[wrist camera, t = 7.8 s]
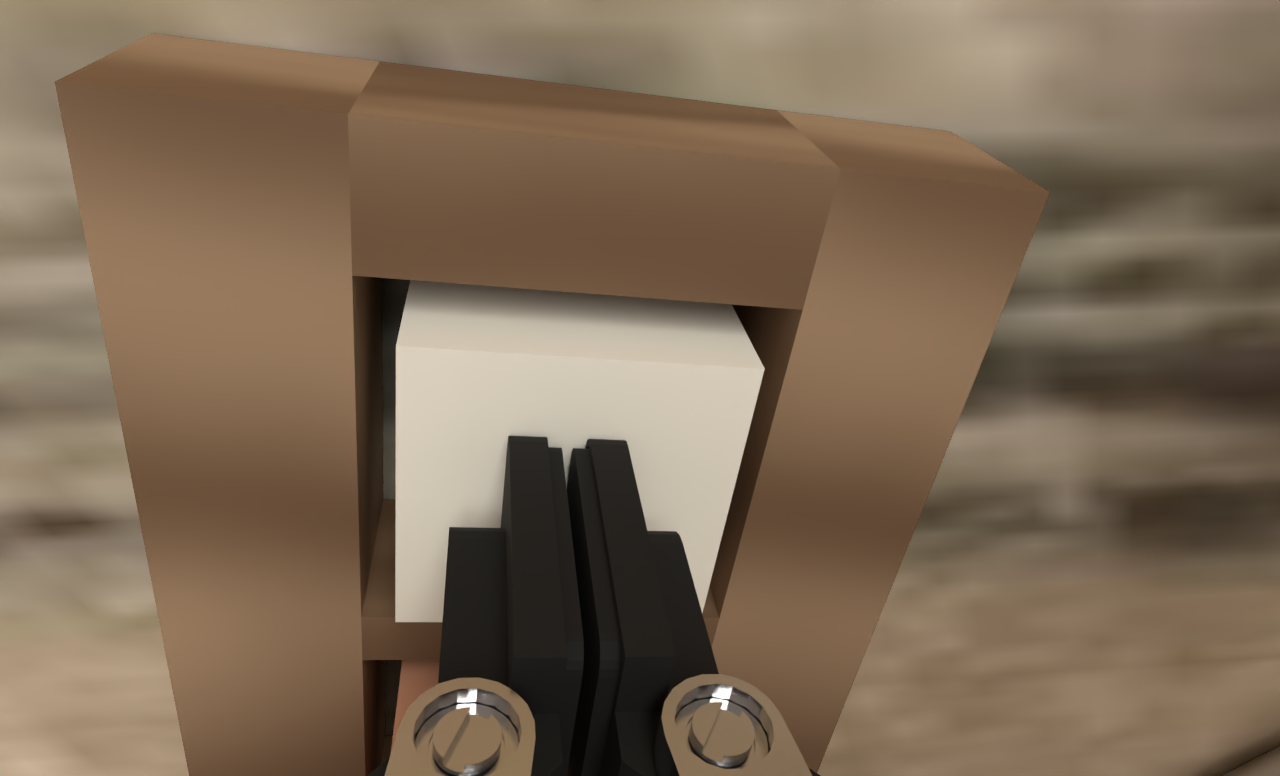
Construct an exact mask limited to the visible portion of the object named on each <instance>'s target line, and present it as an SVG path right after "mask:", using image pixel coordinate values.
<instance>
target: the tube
mask: <svg viewBox="0 0 1280 776" xmlns="http://www.w3.org/2000/svg"><path fill="white" fill-rule="evenodd" d="M1222 776H1280V746H1278V747H1277V748H1275V749H1273V750H1271V751H1269V752H1267V753H1265V754H1263V755H1261V756H1259V757H1257V758H1255V759H1253V760H1251V761H1249V762H1247V763H1245V764H1244V765H1242V766H1240V767H1238V768H1236V769H1234V770H1232V771H1230V772H1228V773H1226V774H1224V775H1222Z"/></svg>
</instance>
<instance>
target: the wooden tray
mask: <svg viewBox="0 0 1280 776" xmlns="http://www.w3.org/2000/svg"><path fill="white" fill-rule="evenodd" d="M55 85H56V90H57V95H58V101H59V106H60V111H61V116H62V121H63V126H64V132H65V137H66V142H67V147H68V152H69V157H70V163H71V168H72V173H73V178H74V183H75V188H76V194H77V199H78V204H79V209H80V214H81V219H82V224H83V230H84V235H85V240H86V245H87V250H88V255H89V261H90V266H91V271H92V276H93V281H94V286H95V292H96V297H97V302H98V307H99V312H100V317H101V323H102V328H103V333H104V338H105V343H106V348H107V353H108V359H109V364H110V369H111V374H112V379H113V384H114V390H115V395H116V400H117V405H118V410H119V415H120V421H121V426H122V431H123V436H124V441H125V446H126V452H127V457H128V462H129V467H130V472H131V477H132V482H133V488H134V493H135V498H136V503H137V508H138V513H139V519H140V524H141V529H142V534H143V539H144V544H145V550H146V555H147V560H148V565H149V570H150V575H151V581H152V586H153V591H154V596H155V601H156V606H157V611H158V617H159V622H160V627H161V632H162V637H163V642H164V648H165V653H166V658H167V663H168V668H169V673H170V679H171V684H172V689H173V694H174V699H175V704H176V710H177V715H178V720H179V725H180V730H181V735H182V741H183V746H184V751H185V756H186V761H187V766H188V771H189V776H367V775H368V774H370V773H371V772H372V771H373V770H375V769H376V768H377V767H378V766H380V765H381V764H382V763H383V762H385V761H386V760H387V759H388V758H390V755H391V747H392V739H393V736H385V685H384V660H440V649H441V635H442V622H395V551H396V500H383V420H382V288H381V278H391V279H404V280H417V281H430V282H443V283H457V284H470V285H483V286H496V287H509V288H522V289H535V290H548V291H561V292H575V293H588V294H601V295H614V296H627V297H640V298H653V299H666V300H679V301H693V302H706V303H719V304H732V305H733V308H734V310H735V312H736V314H737V316H738V318H739V320H740V322H741V324H742V326H743V328H744V330H745V331H746V333H747V335H748V337H749V339H750V341H751V343H752V345H753V347H754V349H755V351H756V353H757V355H758V357H759V359H760V361H761V363H762V365H763V367H764V368H765V370H764V374H763V377H762V381H761V385H760V389H759V393H758V397H757V401H756V405H755V409H754V413H753V417H752V421H751V425H750V429H749V432H748V436H747V440H746V444H745V448H744V452H743V456H742V460H741V464H740V468H739V472H738V476H737V480H736V483H735V487H734V491H733V495H732V499H731V503H730V507H729V511H728V515H727V519H726V523H725V527H724V531H723V535H722V538H721V542H720V546H719V550H718V554H717V558H716V562H715V566H714V570H713V574H712V578H711V582H710V586H709V589H708V593H707V597H706V601H705V605H704V609H703V613H702V615H703V618H704V622H705V625H706V629H707V633H708V636H709V640H710V644H711V647H712V651H713V654H714V658H715V662H716V665H717V669H718V672H719V674H722V675H726V676H730V677H735V678H739V679H741V680H743V681H745V682H747V683H749V684H751V685H753V686H755V687H756V688H758V689H759V690H760V691H761V692H762V693H763V694H765V695H766V696H767V697H768V698H769V699H770V700H771V701H772V702H773V704H774V705H775V706H776V708H777V709H778V711H779V712H780V714H781V715H782V717H783V719H784V721H785V723H786V725H787V727H788V729H789V731H790V733H791V735H792V737H793V739H794V741H795V742H796V744H797V746H798V748H799V750H800V752H801V754H802V756H803V758H804V760H805V762H806V764H807V766H808V768H810V769H811V770H813V771H814V772H816V773H817V771H818V769H819V766H820V764H821V761H822V759H823V756H824V754H825V751H826V749H827V746H828V744H829V741H830V739H831V736H832V734H833V731H834V729H835V726H836V724H837V721H838V719H839V716H840V714H841V711H842V709H843V706H844V704H845V701H846V699H847V696H848V694H849V691H850V689H851V687H852V684H853V682H854V679H855V677H856V674H857V672H858V669H859V667H860V664H861V662H862V659H863V657H864V654H865V652H866V649H867V647H868V644H869V642H870V639H871V637H872V634H873V632H874V629H875V627H876V624H877V622H878V619H879V617H880V614H881V612H882V609H883V607H884V604H885V602H886V599H887V597H888V594H889V592H890V589H891V587H892V584H893V582H894V579H895V577H896V574H897V572H898V570H899V567H900V565H901V562H902V560H903V557H904V555H905V552H906V550H907V547H908V545H909V542H910V540H911V537H912V535H913V532H914V530H915V527H916V525H917V522H918V520H919V517H920V515H921V512H922V510H923V507H924V505H925V502H926V500H927V497H928V495H929V492H930V490H931V487H932V485H933V482H934V480H935V477H936V475H937V472H938V470H939V467H940V465H941V462H942V460H943V457H944V455H945V453H946V450H947V448H948V445H949V443H950V440H951V438H952V435H953V433H954V430H955V428H956V425H957V423H958V420H959V418H960V415H961V413H962V410H963V408H964V405H965V403H966V400H967V398H968V395H969V393H970V390H971V388H972V385H973V383H974V380H975V378H976V375H977V373H978V370H979V368H980V365H981V363H982V360H983V358H984V355H985V353H986V350H987V348H988V345H989V343H990V340H991V338H992V336H993V333H994V331H995V328H996V326H997V323H998V321H999V318H1000V316H1001V313H1002V311H1003V308H1004V306H1005V303H1006V301H1007V298H1008V296H1009V293H1010V291H1011V288H1012V286H1013V283H1014V281H1015V278H1016V276H1017V273H1018V271H1019V268H1020V266H1021V263H1022V261H1023V258H1024V256H1025V253H1026V251H1027V248H1028V246H1029V243H1030V241H1031V238H1032V236H1033V233H1034V231H1035V228H1036V226H1037V223H1038V221H1039V219H1040V216H1041V214H1042V211H1043V209H1044V206H1045V204H1046V201H1047V199H1048V196H1049V194H1050V192H1049V191H1047V190H1046V189H1044V188H1043V187H1041V186H1039V185H1038V184H1036V183H1034V182H1033V181H1031V180H1029V179H1028V178H1026V177H1024V176H1023V175H1021V174H1020V173H1018V172H1016V171H1015V170H1013V169H1011V168H1010V167H1008V166H1006V165H1005V164H1003V163H1001V162H1000V161H998V160H997V159H995V158H993V157H992V156H990V155H988V154H987V153H985V152H983V151H982V150H980V149H978V148H977V147H975V146H974V145H972V144H970V143H969V142H967V141H965V140H964V139H962V138H960V137H959V136H957V135H956V134H954V133H952V132H949V131H941V130H933V129H924V128H916V127H908V126H900V125H892V124H884V123H876V122H868V121H859V120H851V119H843V118H835V117H827V116H819V115H811V114H803V113H794V112H786V111H778V110H770V109H762V108H754V107H746V106H738V105H729V104H721V103H713V102H705V101H697V100H689V99H681V98H672V97H664V96H656V95H648V94H640V93H632V92H624V91H616V90H607V89H599V88H591V87H583V86H575V85H567V84H559V83H551V82H542V81H534V80H526V79H518V78H510V77H502V76H494V75H486V74H477V73H469V72H461V71H453V70H445V69H437V68H429V67H421V66H412V65H404V64H396V63H388V62H380V61H372V60H364V59H355V58H347V57H339V56H331V55H323V54H315V53H307V52H299V51H290V50H282V49H274V48H266V47H258V46H250V45H242V44H234V43H225V42H217V41H209V40H201V39H193V38H185V37H177V36H169V35H160V34H150V35H148V36H146V37H144V38H142V39H140V40H138V41H136V42H134V43H132V44H130V45H128V46H126V47H124V48H122V49H120V50H118V51H116V52H114V53H112V54H110V55H108V56H106V57H104V58H102V59H100V60H98V61H96V62H94V63H92V64H90V65H88V66H86V67H84V68H82V69H79V70H77V71H75V72H73V73H71V74H69V75H67V76H65V77H63V78H61V79H59V80H57V81H55Z"/></svg>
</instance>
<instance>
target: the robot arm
mask: <svg viewBox="0 0 1280 776" xmlns="http://www.w3.org/2000/svg"><path fill="white" fill-rule="evenodd" d="M367 776H820V775H819V774H817V773H816V772H814V771H813V770H811V769H810V768H808V766H807V764H806V762H805V760H804V758H803V756H802V754H801V752H800V750H799V748H798V746H797V744H796V742H795V741H794V739H793V737H792V735H791V733H790V731H789V729H788V727H787V725H786V723H785V721H784V719H783V717H782V715H781V714H780V712H779V711H778V709H777V708H776V706H775V705H774V704H773V702H772V701H771V700H770V699H769V698H768V697H767V696H766V695H765V694H763V693H762V692H761V691H760V690H759V689H758V688H756V687H755V686H753V685H751V684H749V683H747V682H745V681H743V680H741V679H739V678H735V677H730V676H726V675H722V674H719V672H718V669H717V665H716V662H715V658H714V654H713V651H712V647H711V644H710V640H709V636H708V633H707V629H706V625H705V622H704V618H703V615H702V611H701V607H700V604H699V600H698V597H697V593H696V589H695V586H694V582H693V578H692V575H691V571H690V568H689V564H688V560H687V557H686V553H685V549H684V546H683V542H682V540H681V537H680V535H679V534H678V533H677V532H676V531H647V527H646V522H645V518H644V514H643V509H642V505H641V501H640V496H639V492H638V487H637V483H636V479H635V474H634V470H633V466H632V461H631V457H630V452H629V448H628V444H627V441H625V440H608V439H588V440H587V442H586V447H585V449H582V448H573V449H572V453H571V460H570V467H569V475H568V483H567V488H566V479H565V470H564V461H563V452H562V448H556V447H548V439H547V437H534V436H508V443H507V455H506V467H505V479H504V491H503V504H502V516H501V528H474V527H449V538H448V551H447V565H446V579H445V593H444V607H443V621H442V635H441V649H440V663H439V677H438V684H437V685H436V686H434V687H432V688H430V689H429V690H427V691H425V692H423V693H422V694H421V695H420V696H419V697H418V698H417V699H416V700H415V701H414V702H413V703H412V704H411V705H410V706H409V707H408V708H407V711H406V713H405V715H404V717H403V719H402V721H401V723H400V725H399V728H398V732H397V735H396V738H395V742H394V745H393V748H392V752H391V755H390V758H388V759H387V760H386V761H385V762H383V763H382V764H381V765H380V766H378V767H377V768H376V769H375V770H373V771H372V772H371V773H370V774H368V775H367Z"/></svg>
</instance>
